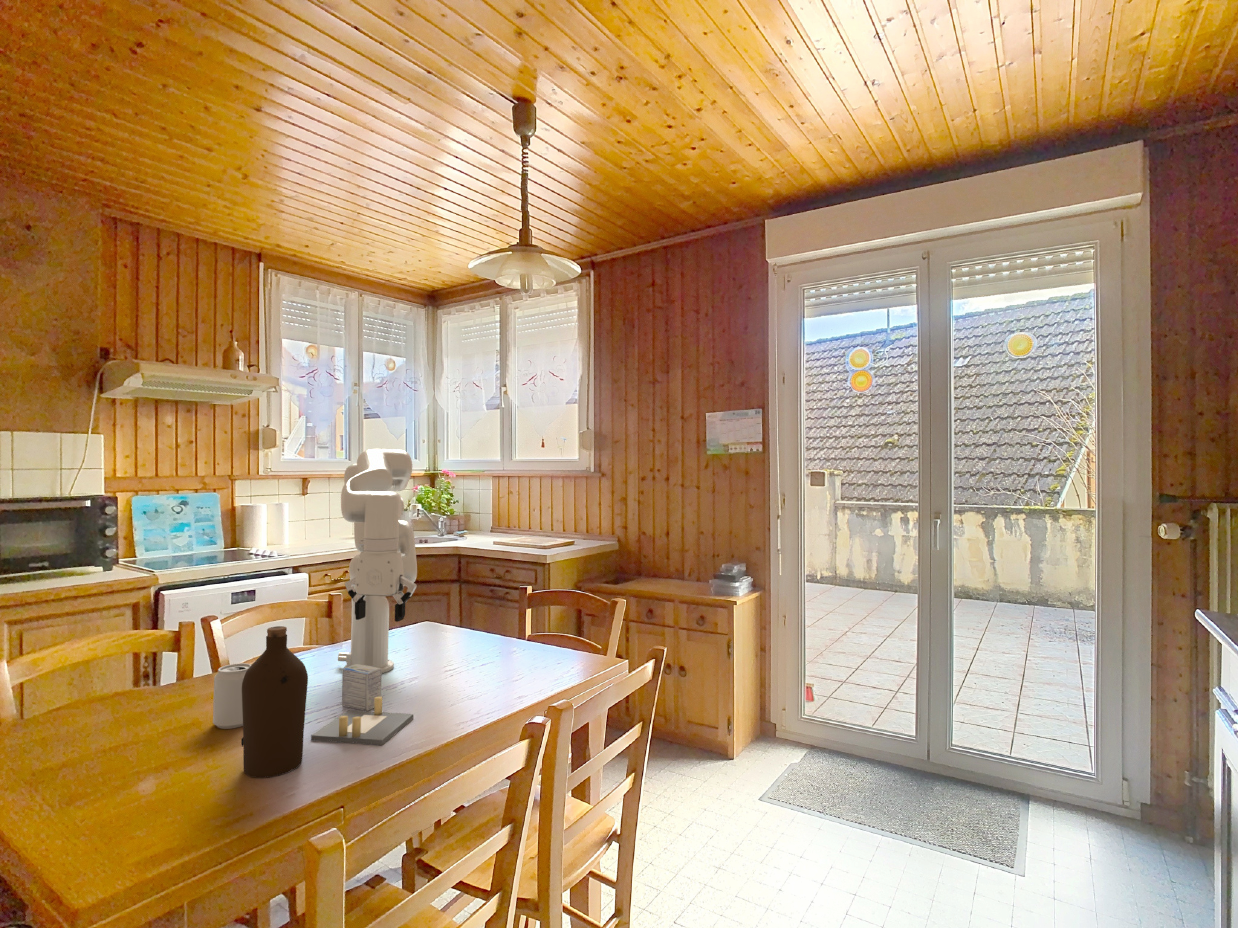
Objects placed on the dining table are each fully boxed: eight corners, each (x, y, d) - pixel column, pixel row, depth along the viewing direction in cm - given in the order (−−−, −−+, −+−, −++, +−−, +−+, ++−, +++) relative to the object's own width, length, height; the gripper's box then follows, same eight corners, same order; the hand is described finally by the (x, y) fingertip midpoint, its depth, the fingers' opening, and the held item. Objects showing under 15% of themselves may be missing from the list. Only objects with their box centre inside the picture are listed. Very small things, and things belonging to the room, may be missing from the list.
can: (262, 719, 138) (263, 663, 139) (231, 732, 131) (232, 673, 131) (236, 714, 141) (237, 659, 141) (204, 727, 134) (205, 669, 134)
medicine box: (381, 705, 148) (382, 667, 148) (366, 711, 144) (367, 673, 144) (356, 700, 151) (357, 663, 151) (341, 706, 147) (341, 668, 147)
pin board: (310, 740, 128) (311, 717, 128) (348, 714, 142) (349, 693, 142) (382, 744, 126) (382, 722, 126) (413, 718, 140) (413, 697, 140)
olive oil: (318, 757, 120) (322, 623, 121) (274, 783, 110) (278, 637, 110) (272, 750, 123) (275, 619, 124) (224, 774, 113) (228, 632, 113)
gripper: (337, 546, 147) (336, 621, 147) (408, 548, 145) (407, 624, 144) (355, 543, 155) (354, 614, 154) (423, 545, 152) (422, 617, 152)
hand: (379, 619), depth 149 cm, fingers open, 9 cm apart
